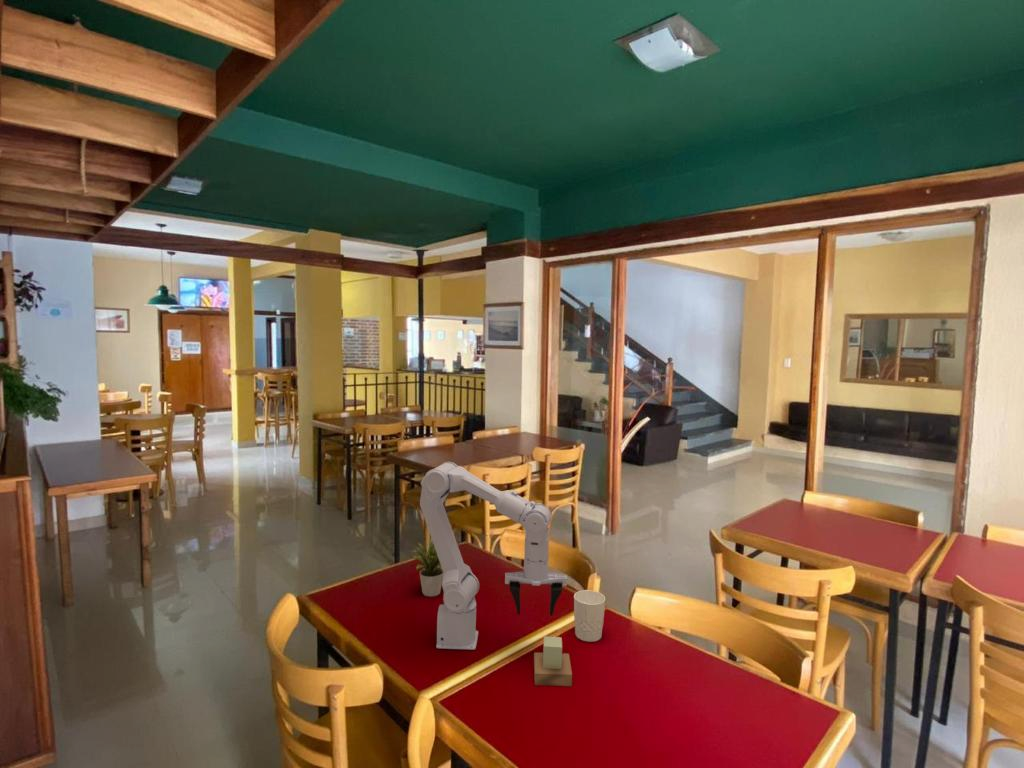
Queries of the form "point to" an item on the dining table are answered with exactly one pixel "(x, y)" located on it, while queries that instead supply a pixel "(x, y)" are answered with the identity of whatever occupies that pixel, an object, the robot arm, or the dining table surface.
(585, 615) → the white cup
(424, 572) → the house plant
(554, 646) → the green block
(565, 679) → the walnut base
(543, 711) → the dining table surface
